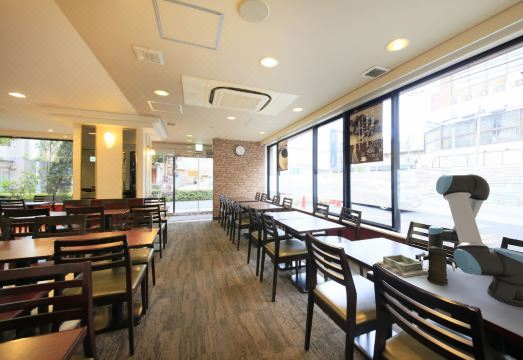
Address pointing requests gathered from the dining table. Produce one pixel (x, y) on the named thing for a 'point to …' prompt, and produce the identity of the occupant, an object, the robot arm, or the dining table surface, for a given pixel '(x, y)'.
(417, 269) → the collar board
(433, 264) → the container
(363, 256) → the dining table surface
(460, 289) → the dining table surface
